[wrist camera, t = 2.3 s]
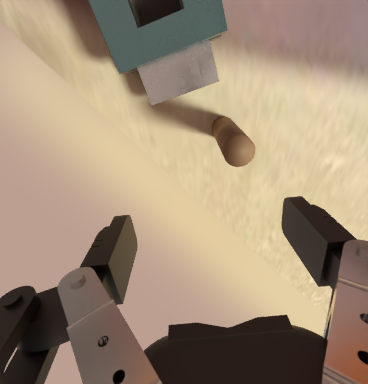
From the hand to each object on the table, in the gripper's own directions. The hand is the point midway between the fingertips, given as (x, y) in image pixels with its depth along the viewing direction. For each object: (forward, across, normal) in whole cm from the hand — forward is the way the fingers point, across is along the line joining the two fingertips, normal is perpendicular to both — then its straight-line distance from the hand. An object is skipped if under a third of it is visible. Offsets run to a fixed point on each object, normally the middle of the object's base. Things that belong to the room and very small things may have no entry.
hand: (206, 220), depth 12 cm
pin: (+21, -4, 0) cm, 21 cm away
